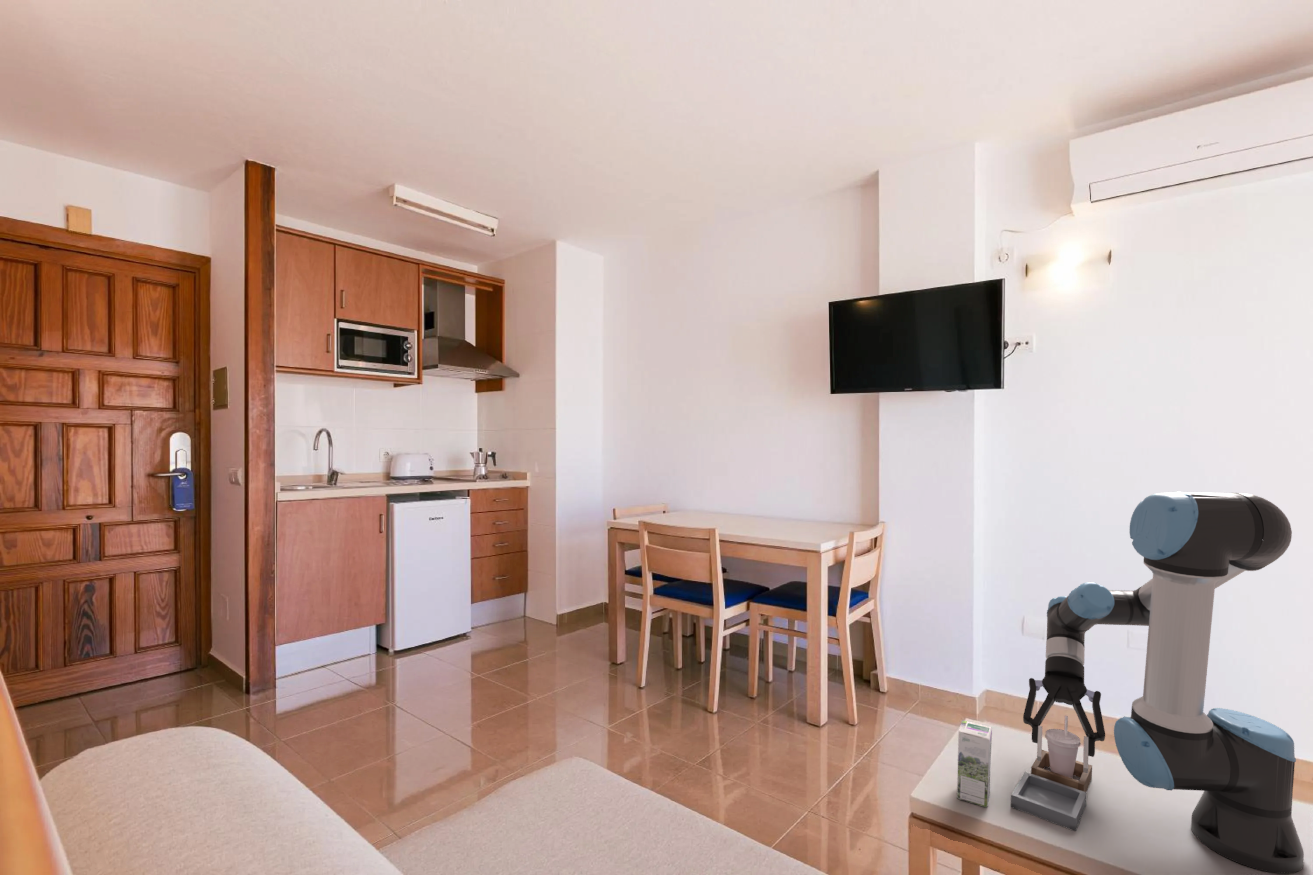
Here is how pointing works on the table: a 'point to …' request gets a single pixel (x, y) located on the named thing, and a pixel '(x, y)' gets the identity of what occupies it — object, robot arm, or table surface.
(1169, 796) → the table surface
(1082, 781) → the collar
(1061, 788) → the tray
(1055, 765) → the smoothie
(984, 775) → the syrup box
